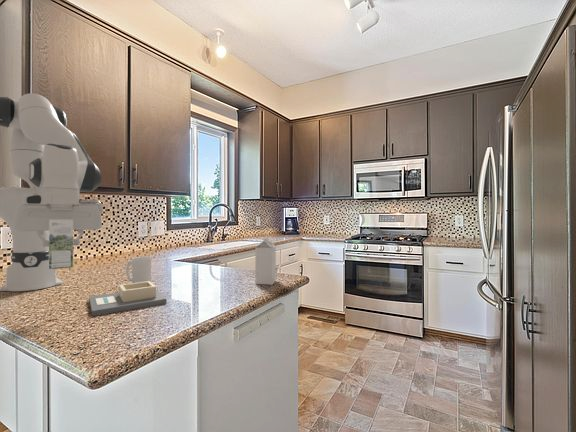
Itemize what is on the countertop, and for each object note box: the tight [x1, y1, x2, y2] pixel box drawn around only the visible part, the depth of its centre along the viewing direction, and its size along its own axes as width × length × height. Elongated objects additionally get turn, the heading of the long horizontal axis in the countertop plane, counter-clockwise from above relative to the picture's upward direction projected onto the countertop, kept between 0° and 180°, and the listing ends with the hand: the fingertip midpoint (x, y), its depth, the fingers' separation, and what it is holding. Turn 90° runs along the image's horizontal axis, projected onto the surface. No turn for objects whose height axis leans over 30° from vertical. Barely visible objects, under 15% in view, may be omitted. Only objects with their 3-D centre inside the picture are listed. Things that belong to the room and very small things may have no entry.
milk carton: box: [254, 236, 277, 286], centre depth 123 cm, size 7×7×19 cm
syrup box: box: [49, 219, 74, 270], centre depth 87 cm, size 6×6×14 cm
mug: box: [125, 256, 152, 283], centre depth 113 cm, size 10×7×12 cm, turn 79°
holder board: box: [88, 281, 167, 317], centre depth 96 cm, size 18×20×5 cm
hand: (61, 245), depth 87 cm, fingers closed on syrup box, 6 cm apart
